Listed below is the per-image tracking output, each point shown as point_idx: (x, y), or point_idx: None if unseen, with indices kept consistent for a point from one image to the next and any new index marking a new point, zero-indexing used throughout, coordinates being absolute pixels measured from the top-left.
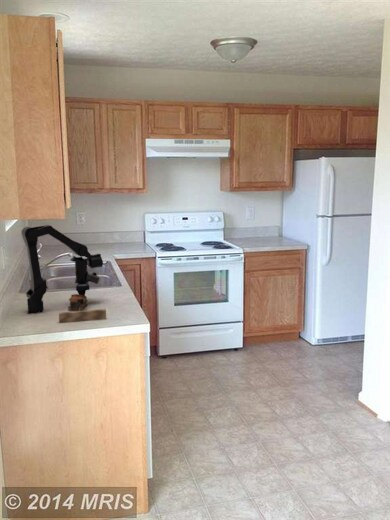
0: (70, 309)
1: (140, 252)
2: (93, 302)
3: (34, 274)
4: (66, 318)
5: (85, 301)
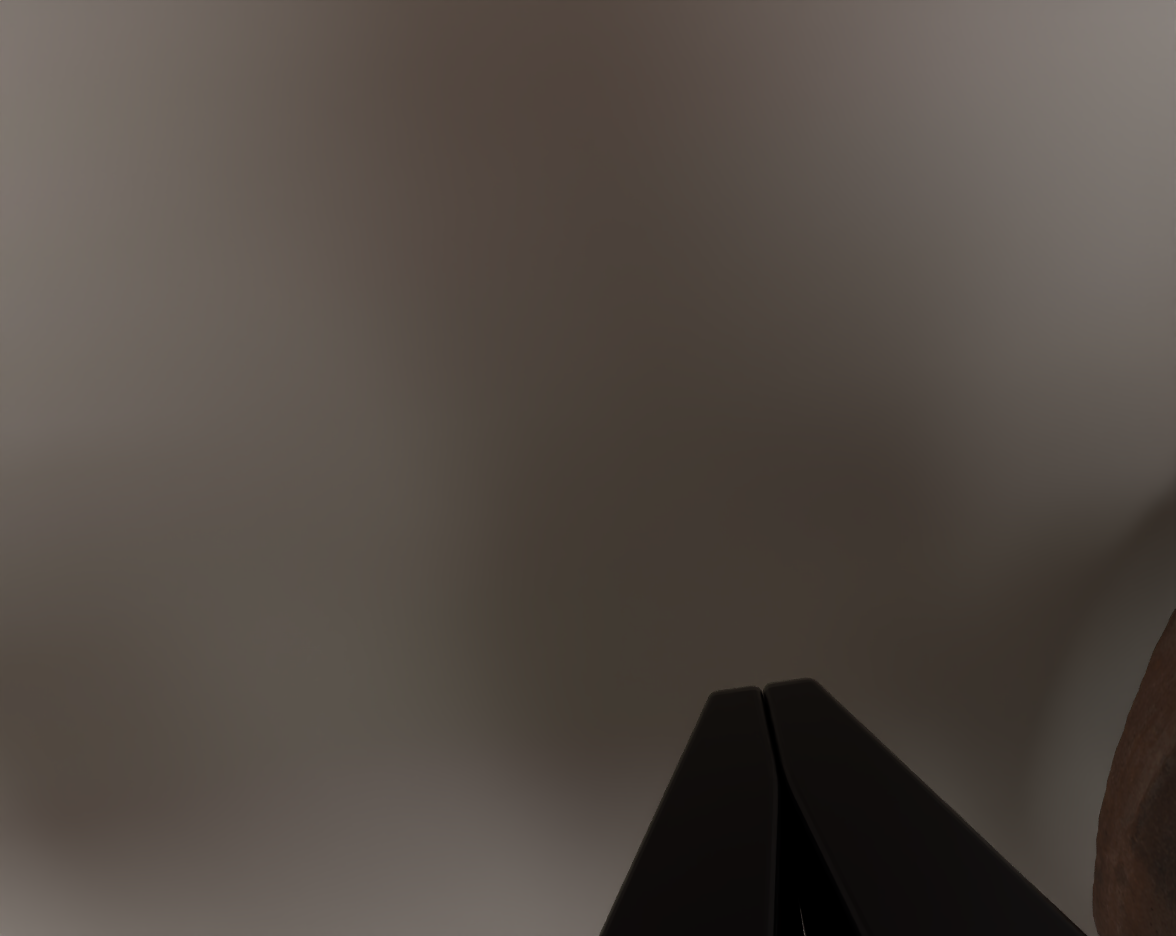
0: None
1: None
2: (476, 85)
3: None
4: None
5: None
